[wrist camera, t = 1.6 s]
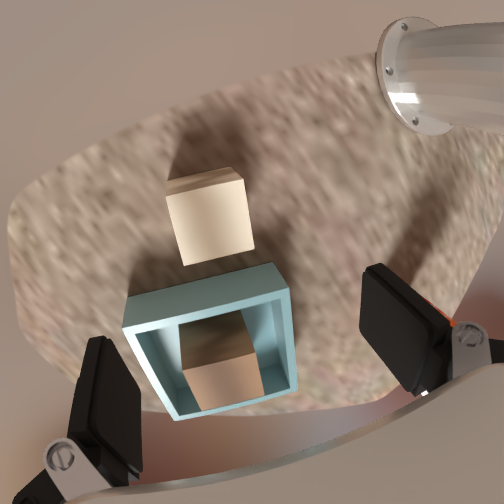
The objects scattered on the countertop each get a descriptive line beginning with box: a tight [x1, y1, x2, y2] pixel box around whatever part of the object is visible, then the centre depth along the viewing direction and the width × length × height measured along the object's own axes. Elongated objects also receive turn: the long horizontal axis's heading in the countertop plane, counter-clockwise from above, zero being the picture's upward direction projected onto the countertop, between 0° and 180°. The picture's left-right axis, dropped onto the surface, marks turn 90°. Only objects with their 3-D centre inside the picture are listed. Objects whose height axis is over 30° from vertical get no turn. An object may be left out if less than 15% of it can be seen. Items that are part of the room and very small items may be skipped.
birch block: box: [166, 167, 254, 266], centre depth 22 cm, size 5×5×5 cm
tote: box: [122, 262, 298, 421], centre depth 28 cm, size 14×14×4 cm
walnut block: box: [178, 310, 264, 411], centre depth 27 cm, size 6×6×6 cm
